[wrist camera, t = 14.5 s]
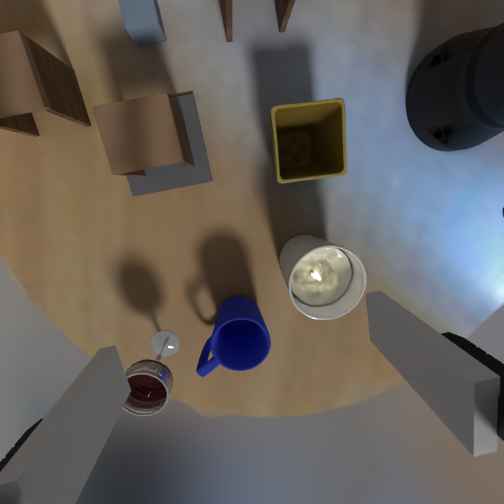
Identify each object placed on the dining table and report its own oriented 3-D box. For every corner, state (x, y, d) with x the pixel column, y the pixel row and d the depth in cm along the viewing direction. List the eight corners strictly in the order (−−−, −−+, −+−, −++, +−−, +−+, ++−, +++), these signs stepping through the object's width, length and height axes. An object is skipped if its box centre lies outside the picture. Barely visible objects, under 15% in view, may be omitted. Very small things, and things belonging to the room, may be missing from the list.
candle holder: (272, 285, 46) (285, 319, 35) (276, 228, 44) (292, 243, 33) (329, 287, 47) (360, 321, 36) (336, 231, 45) (372, 247, 33)
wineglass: (140, 355, 48) (111, 410, 36) (149, 321, 46) (121, 367, 35) (179, 364, 49) (162, 421, 37) (189, 331, 47) (174, 379, 36)
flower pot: (324, 177, 43) (347, 175, 34) (268, 184, 43) (277, 184, 34) (321, 115, 41) (345, 97, 32) (262, 122, 40) (270, 105, 32)
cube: (158, 4, 36) (149, -17, 32) (166, 40, 37) (158, 24, 33) (128, 10, 36) (115, -11, 32) (137, 46, 37) (126, 30, 33)
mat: (193, 94, 39) (193, 93, 38) (212, 180, 42) (212, 180, 41) (108, 110, 39) (107, 109, 38) (133, 196, 42) (132, 196, 41)
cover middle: (183, 115, 39) (166, 92, 29) (194, 166, 41) (183, 160, 31) (127, 126, 39) (92, 106, 29) (141, 176, 41) (112, 174, 31)
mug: (188, 324, 47) (176, 361, 37) (241, 280, 46) (243, 305, 36) (220, 355, 49) (217, 398, 39) (272, 313, 48) (282, 346, 38)
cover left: (74, 70, 37) (18, 30, 28) (91, 125, 39) (44, 106, 29) (15, 81, 37) (-62, 45, 27) (34, 136, 39) (-32, 120, 29)
